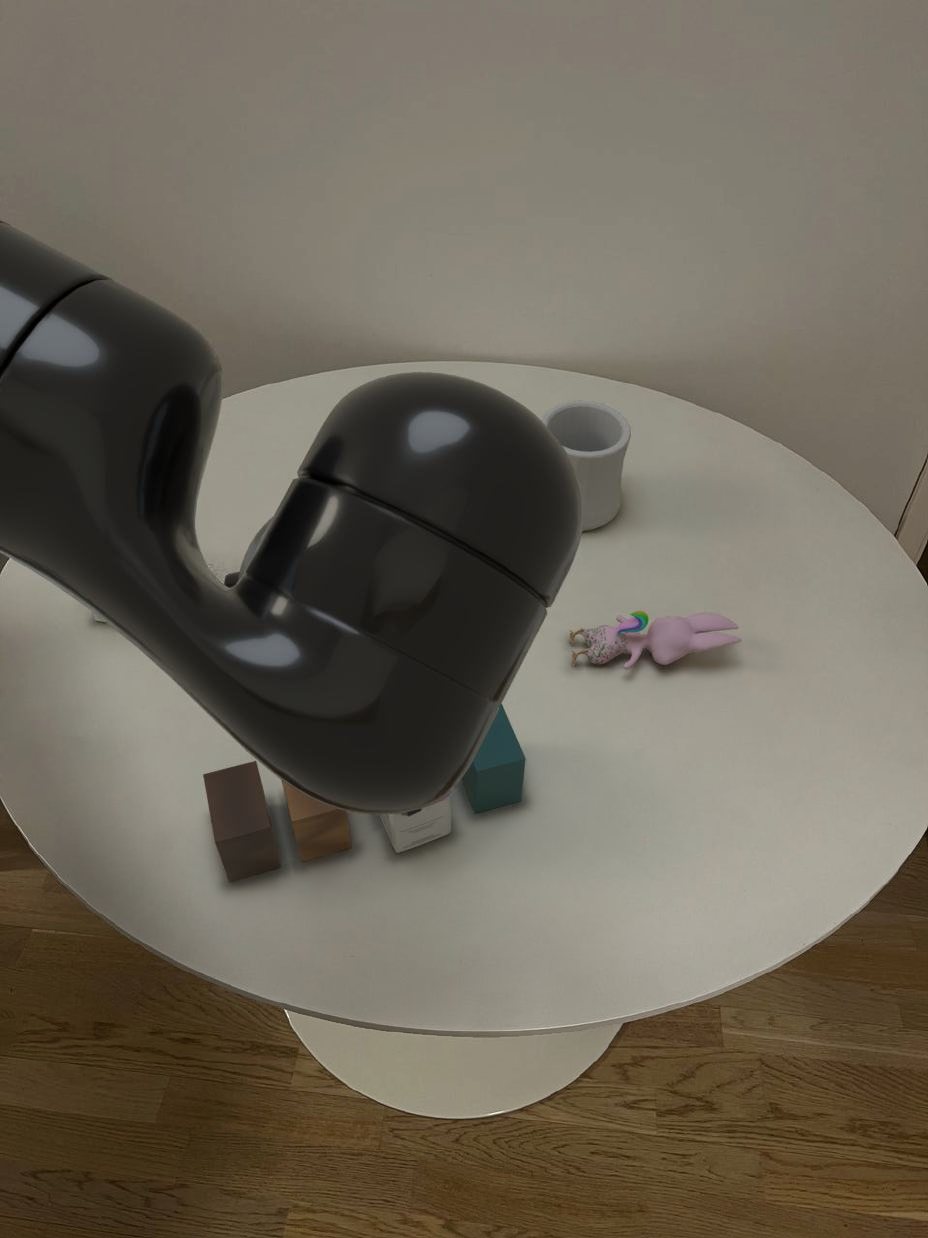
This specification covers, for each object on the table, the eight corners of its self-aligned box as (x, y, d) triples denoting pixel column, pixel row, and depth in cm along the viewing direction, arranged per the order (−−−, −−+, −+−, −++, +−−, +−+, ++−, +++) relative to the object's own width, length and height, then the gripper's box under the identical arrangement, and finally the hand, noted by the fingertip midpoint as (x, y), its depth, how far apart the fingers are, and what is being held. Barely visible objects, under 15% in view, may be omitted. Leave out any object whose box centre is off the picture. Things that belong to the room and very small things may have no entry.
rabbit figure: (575, 690, 90) (745, 672, 88) (570, 647, 85) (749, 627, 84) (569, 637, 94) (732, 619, 92) (564, 594, 90) (735, 574, 88)
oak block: (300, 862, 77) (291, 821, 72) (285, 798, 81) (275, 755, 76) (351, 848, 78) (345, 807, 73) (334, 785, 81) (327, 742, 77)
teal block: (474, 814, 80) (476, 772, 75) (451, 754, 84) (452, 710, 79) (521, 801, 81) (526, 758, 76) (497, 742, 84) (500, 698, 80)
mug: (632, 492, 106) (646, 415, 98) (599, 545, 100) (611, 467, 93) (526, 457, 110) (531, 380, 102) (489, 506, 104) (491, 428, 97)
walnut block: (228, 882, 76) (214, 842, 71) (216, 816, 79) (202, 773, 75) (281, 867, 76) (270, 827, 72) (266, 802, 80) (256, 760, 76)
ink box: (356, 770, 82) (346, 680, 74) (412, 750, 84) (408, 660, 75) (394, 856, 77) (387, 770, 68) (453, 833, 79) (454, 747, 70)
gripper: (480, 466, 42) (412, 500, 58) (131, 536, 39) (160, 551, 55) (517, 641, 42) (440, 627, 58) (176, 723, 39) (192, 685, 55)
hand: (304, 590), depth 56 cm, fingers open, 8 cm apart
